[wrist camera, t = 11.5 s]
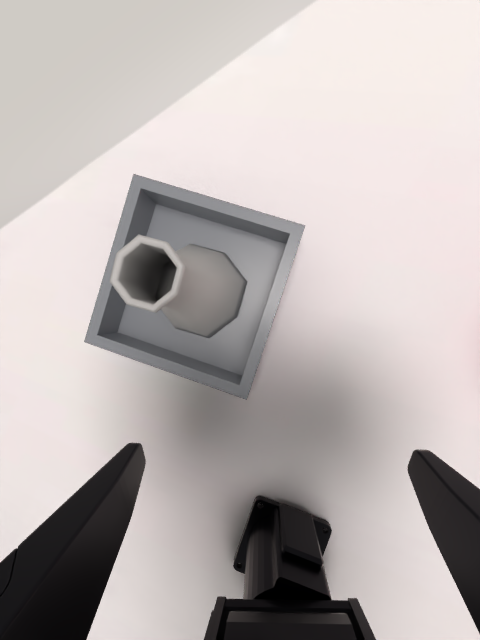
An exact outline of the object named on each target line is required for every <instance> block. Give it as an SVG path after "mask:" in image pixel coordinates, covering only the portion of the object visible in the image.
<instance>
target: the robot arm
mask: <svg viewBox="0 0 480 640" xmlns="http://www.w3.org/2000/svg"><path fill="white" fill-rule="evenodd" d="M145 462H146V461H145V456H144V452H143V448H142V445H141V444H140V443H129V444H127V445H126V446H125V447H124V448H123V449H122V450H120V451H119V452H118V453H117V454H116V455H115V456H114V457H113V458H112V459H111V460H110V461H109V462H108V463H107V464H105V465H104V466H103V467H102V468H101V469H100V470H99V471H98V472H97V473H96V474H95V475H94V476H93V477H92V478H90V479H89V480H88V481H87V482H86V483H85V484H84V485H83V486H82V487H81V488H80V489H79V490H78V491H77V492H75V493H74V494H73V495H72V496H71V497H70V498H69V499H68V500H67V501H66V502H65V503H64V504H63V505H62V506H60V507H59V508H58V509H57V510H56V511H55V512H54V513H53V514H52V515H51V516H50V517H49V518H48V519H47V520H46V521H44V522H43V523H42V524H41V525H40V526H39V527H38V528H37V529H36V530H35V531H34V532H33V533H32V534H31V535H29V536H28V537H27V538H26V539H25V540H24V541H23V542H22V543H21V544H20V545H19V546H18V549H17V548H16V549H14V550H13V551H12V552H11V553H10V554H9V555H8V556H7V557H6V558H5V559H4V560H3V561H1V562H0V640H86V639H87V636H88V634H89V631H90V628H91V625H92V623H93V620H94V617H95V615H96V612H97V609H98V606H99V604H100V601H101V598H102V596H103V593H104V590H105V587H106V585H107V582H108V579H109V577H110V574H111V571H112V568H113V566H114V563H115V560H116V558H117V555H118V552H119V550H120V547H121V544H122V541H123V539H124V536H125V533H126V531H127V528H128V525H129V522H130V519H131V516H132V513H133V509H134V506H135V502H136V498H137V494H138V491H139V487H140V483H141V479H142V476H143V472H144V468H145ZM408 474H409V476H410V479H411V482H412V484H413V487H414V490H415V492H416V495H417V498H418V500H419V503H420V506H421V508H422V511H423V514H424V516H425V519H426V521H427V524H428V526H429V529H430V531H431V533H432V535H433V537H434V539H435V541H436V544H437V546H438V548H439V550H440V552H441V554H442V556H443V558H444V560H445V562H446V564H447V566H448V569H449V571H450V573H451V575H452V577H453V579H454V581H455V583H456V585H457V587H458V589H459V591H460V594H461V596H462V598H463V600H464V602H465V604H466V606H467V608H468V610H469V612H470V614H471V616H472V619H473V621H474V623H475V625H476V627H477V629H478V631H479V633H480V489H479V488H477V487H476V486H475V485H474V484H472V483H471V482H470V481H468V480H467V479H466V478H464V477H463V476H462V475H461V474H459V473H458V472H457V471H455V470H454V469H453V468H452V467H450V466H449V465H448V464H446V463H445V462H444V461H442V460H441V459H440V458H439V457H437V456H436V455H435V454H433V453H432V452H431V451H429V450H414V451H413V453H412V456H411V459H410V461H409V464H408ZM258 503H262V505H259V504H258ZM324 527H325V528H327V529H325V530H324V529H323V528H324ZM331 531H332V530H331V527H330V524H329V523H328V522H327V521H325V520H322V519H320V518H317V517H314V516H312V515H311V514H309V513H306V512H303V511H301V510H298V509H295V508H293V507H290V506H288V505H285V504H280V503H278V502H275V501H272V500H270V499H267V498H264V497H262V496H258V497H256V498H255V500H254V503H253V506H252V509H251V512H250V515H249V518H248V520H247V523H246V526H245V529H244V532H243V535H242V538H241V541H240V544H239V546H238V549H237V552H236V555H235V558H234V565H233V566H234V568H235V570H237V571H239V572H241V573H244V574H245V582H244V597H243V599H226V597H217V600H216V604H215V608H214V610H212V613H211V617H210V620H209V624H208V627H207V631H206V634H205V638H204V640H376V639H375V637H374V634H373V632H372V630H371V628H370V626H369V623H368V621H367V619H366V617H365V615H364V613H363V610H362V608H361V606H360V604H359V602H358V599H357V598H348V601H345V600H331V596H330V591H329V587H328V583H327V579H326V575H325V571H324V566H323V558H322V557H323V554H324V551H325V549H326V546H327V543H328V540H329V538H330V535H331ZM238 563H241V564H238Z"/></svg>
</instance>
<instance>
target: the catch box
mask: <svg viewBox="0 0 480 640" xmlns="http://www.w3.org/2000/svg"><path fill="white" fill-rule="evenodd" d="M304 228H305V225H302V224H299V223H295V222H292V221H289V220H285V219H282V218H279V217H275V216H272V215H269V214H265V213H262V212H259V211H255V210H252V209H249V208H245V207H242V206H239V205H235V204H232V203H229V202H225V201H222V200H219V199H215V198H212V197H209V196H205V195H202V194H199V193H195V192H192V191H189V190H186V189H182V188H179V187H176V186H172V185H169V184H166V183H162V182H159V181H156V180H152V179H149V178H146V177H142V176H139V175H136V174H133V178H132V181H131V185H130V188H129V191H128V195H127V198H126V202H125V205H124V208H123V212H122V215H121V218H120V222H119V225H118V229H117V232H116V235H115V239H114V242H113V246H112V249H111V252H110V256H109V259H108V263H107V266H106V269H105V273H104V276H103V280H102V283H101V286H100V290H99V293H98V297H97V300H96V303H95V307H94V310H93V314H92V317H91V320H90V324H89V327H88V331H87V334H86V337H85V341H84V342H86V343H89V344H91V345H94V346H97V347H100V348H103V349H105V350H108V351H111V352H114V353H117V354H120V355H122V356H125V357H128V358H131V359H134V360H136V361H139V362H142V363H145V364H148V365H151V366H153V367H156V368H159V369H162V370H165V371H167V372H170V373H173V374H176V375H179V376H181V377H184V378H187V379H190V380H193V381H196V382H198V383H201V384H204V385H207V386H210V387H212V388H215V389H218V390H221V391H224V392H227V393H229V394H232V395H235V396H238V397H241V398H243V399H246V400H247V397H248V394H249V391H250V388H251V385H252V382H253V379H254V376H255V373H256V370H257V367H258V365H259V362H260V359H261V356H262V353H263V350H264V347H265V344H266V341H267V338H268V335H269V332H270V329H271V326H272V323H273V320H274V317H275V314H276V311H277V308H278V305H279V302H280V299H281V296H282V293H283V290H284V287H285V284H286V281H287V278H288V275H289V272H290V269H291V266H292V263H293V260H294V258H295V255H296V252H297V249H298V246H299V243H300V240H301V237H302V234H303V231H304ZM137 235H143V236H147V237H150V238H154V239H158V240H161V241H165V242H168V243H169V244H170V246H171V247H172V248H173V250H174V251H177V250H180V249H182V248H184V247H185V246H187V245H189V244H194V245H198V246H202V247H206V248H209V249H213V250H217V251H221V252H224V253H226V254H227V256H228V257H229V258H230V260H231V261H232V262H233V263H234V265H235V266H236V267H237V269H238V270H239V271H240V273H241V274H242V275H243V277H244V278H245V279H246V280H247V285H246V288H245V292H244V295H243V299H242V303H241V306H240V310H239V313H238V317H237V318H235V319H234V320H233V321H231V322H230V323H229V324H227V325H226V326H225V327H223V328H222V329H221V330H220V331H218V332H217V333H216V334H214V335H213V336H212V337H210V338H206V337H203V336H199V335H196V334H192V333H189V332H186V331H182V330H179V329H175V327H174V326H173V325H172V323H171V322H170V321H169V319H168V318H167V317H166V315H165V314H164V313H163V311H162V310H161V309H160V310H159V311H158V312H156V313H155V312H151V311H147V310H144V309H141V308H137V307H134V306H130V305H127V304H126V303H125V302H124V300H123V299H122V298H121V296H120V295H119V294H118V292H117V291H116V290H115V288H114V287H113V286H112V284H111V283H110V282H109V281H110V277H111V273H112V269H113V265H114V261H115V257H116V253H117V252H118V251H119V250H121V249H122V248H123V247H124V246H125V245H127V244H128V243H129V242H130V241H131V240H133V239H134V238H135V237H136V236H137Z"/></svg>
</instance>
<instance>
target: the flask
mask: <svg viewBox="0 0 480 640" xmlns="http://www.w3.org/2000/svg"><path fill="white" fill-rule="evenodd" d="M109 282H110V283H111V284H112V286H113V287H114V288H115V290H116V291H117V292H118V294H119V295H120V296H121V298H122V299H123V300H124V302H125V303H126V304H127V305H130V306H134V307H137V308H141V309H144V310H147V311H151V312H155V313H156V312H158V311H159V310H160V309H161V310H162V311H163V313H164V314H165V315H166V317H167V318H168V319H169V321H170V322H171V323H172V325H173V326H174V327H175V329H179V330H182V331H186V332H189V333H192V334H196V335H199V336H203V337H206V338H210V337H212V336H213V335H214V334H216V333H217V332H218V331H220V330H221V329H222V328H223V327H225V326H226V325H227V324H229V323H230V322H231V321H233V320H234V319H235V318H237V317H238V313H239V310H240V306H241V303H242V299H243V295H244V292H245V288H246V285H247V280H246V279H245V278H244V277H243V275H242V274H241V273H240V271H239V270H238V269H237V267H236V266H235V265H234V263H233V262H232V261H231V260H230V258H229V257H228V256H227V254H226V253H224V252H221V251H217V250H213V249H209V248H206V247H202V246H198V245H194V244H189V245H187V246H185V247H184V248H182V249H180V250H177V251H174V250H173V248H172V247H171V246H170V244H169V243H168V242H165V241H161V240H158V239H154V238H150V237H147V236H143V235H137V236H136V237H135V238H134V239H133V240H131V241H130V242H129V243H128V244H127V245H125V246H124V247H123V248H122V249H121V250H119V251H118V252H117V253H116V257H115V261H114V265H113V269H112V273H111V277H110V281H109Z"/></svg>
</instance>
